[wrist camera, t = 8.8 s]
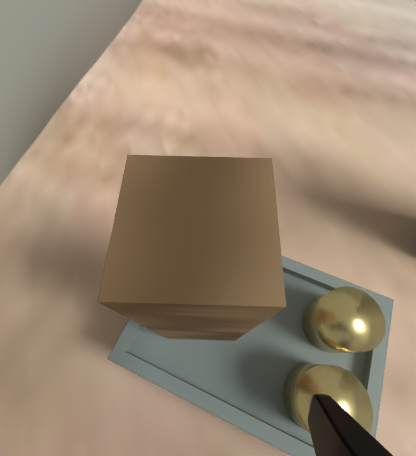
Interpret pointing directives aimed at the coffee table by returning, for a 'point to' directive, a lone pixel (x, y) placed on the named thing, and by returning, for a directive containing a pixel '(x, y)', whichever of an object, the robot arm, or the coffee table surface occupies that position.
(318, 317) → the bushing
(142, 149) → the coffee table surface
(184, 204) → the post
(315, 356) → the shallow rimmed tray
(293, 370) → the bushing
